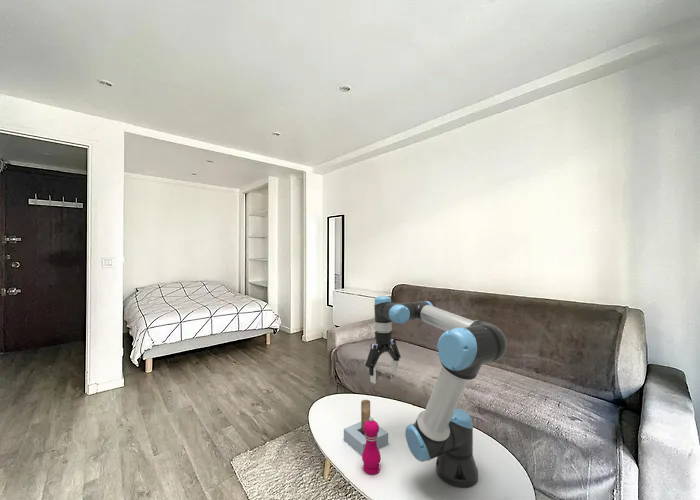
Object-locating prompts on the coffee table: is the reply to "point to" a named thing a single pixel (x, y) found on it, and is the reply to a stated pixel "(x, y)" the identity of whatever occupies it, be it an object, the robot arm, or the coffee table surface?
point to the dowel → (364, 414)
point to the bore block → (363, 438)
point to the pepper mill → (371, 448)
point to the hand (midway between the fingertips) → (384, 378)
